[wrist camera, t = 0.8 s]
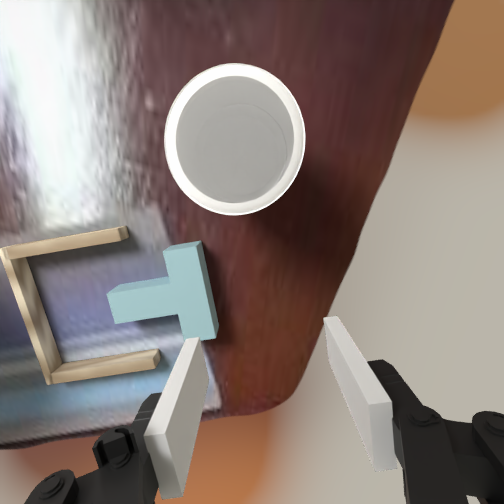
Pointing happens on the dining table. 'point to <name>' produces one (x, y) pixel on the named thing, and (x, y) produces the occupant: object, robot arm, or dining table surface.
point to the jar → (234, 139)
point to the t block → (172, 294)
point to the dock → (38, 321)
